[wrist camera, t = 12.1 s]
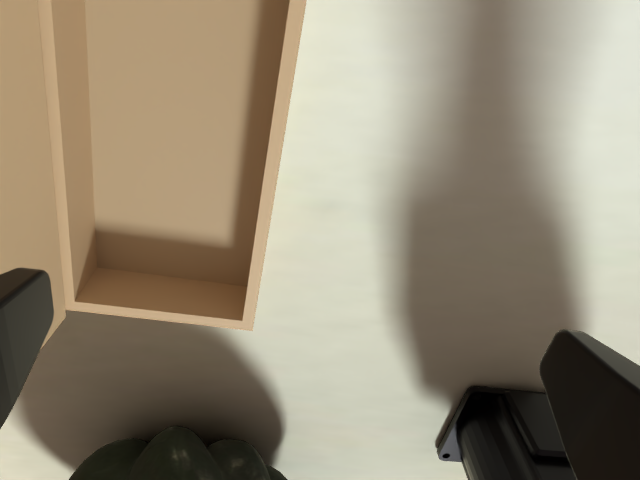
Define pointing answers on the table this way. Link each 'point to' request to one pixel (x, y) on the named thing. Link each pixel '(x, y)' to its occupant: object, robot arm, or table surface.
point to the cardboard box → (167, 150)
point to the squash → (176, 460)
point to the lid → (26, 154)
